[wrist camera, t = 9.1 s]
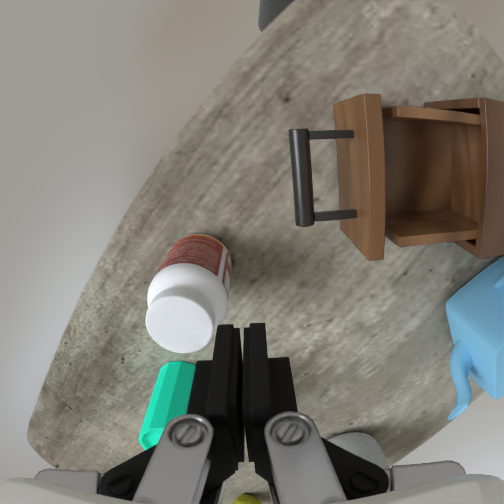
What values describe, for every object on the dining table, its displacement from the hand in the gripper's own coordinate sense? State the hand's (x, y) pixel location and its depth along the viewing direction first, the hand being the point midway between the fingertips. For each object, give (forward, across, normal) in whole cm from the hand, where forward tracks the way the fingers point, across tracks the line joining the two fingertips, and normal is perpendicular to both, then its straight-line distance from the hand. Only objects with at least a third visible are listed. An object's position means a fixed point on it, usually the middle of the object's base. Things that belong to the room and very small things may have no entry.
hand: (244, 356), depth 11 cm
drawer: (+18, -12, -5) cm, 22 cm away
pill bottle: (+19, +5, +4) cm, 20 cm away
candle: (+19, +9, +19) cm, 29 cm away
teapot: (+19, -29, +12) cm, 37 cm away
